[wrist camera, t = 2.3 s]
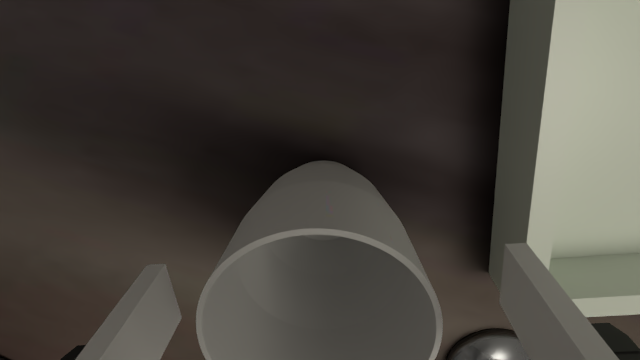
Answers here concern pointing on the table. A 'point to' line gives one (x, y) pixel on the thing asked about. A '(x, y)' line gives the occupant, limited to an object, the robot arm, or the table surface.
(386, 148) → the table surface
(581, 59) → the bin
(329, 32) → the table surface
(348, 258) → the cup
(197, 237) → the table surface
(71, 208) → the table surface
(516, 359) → the stud post
